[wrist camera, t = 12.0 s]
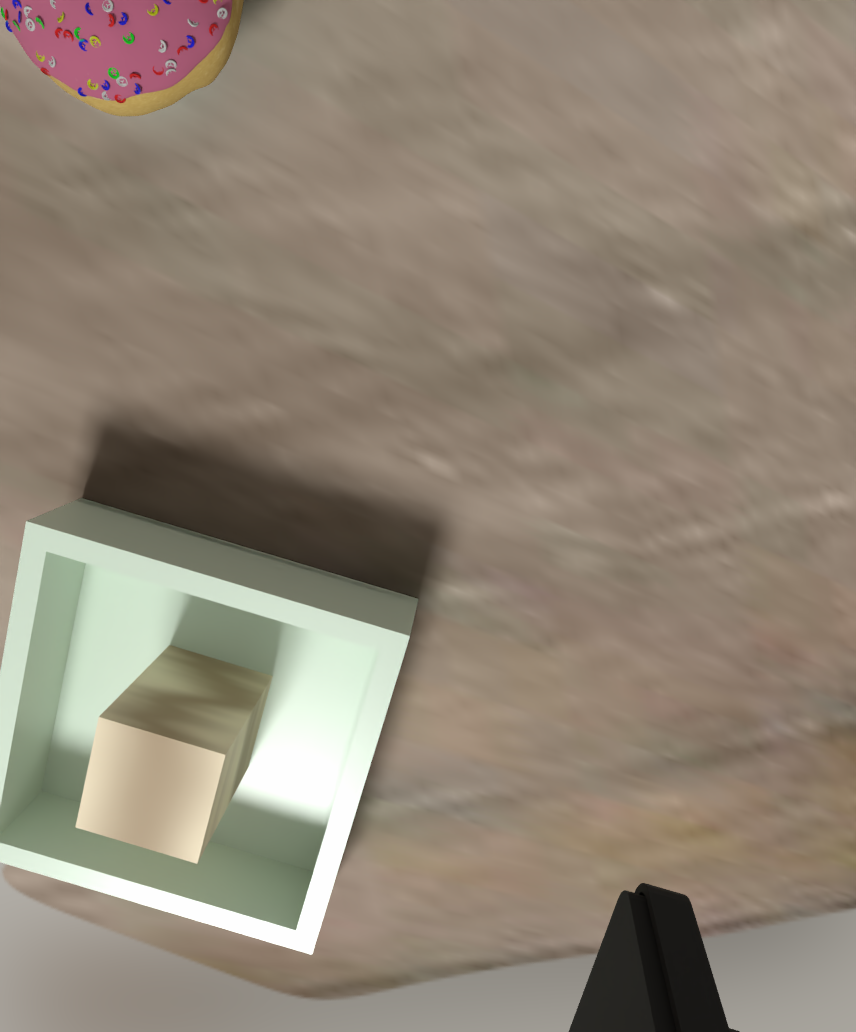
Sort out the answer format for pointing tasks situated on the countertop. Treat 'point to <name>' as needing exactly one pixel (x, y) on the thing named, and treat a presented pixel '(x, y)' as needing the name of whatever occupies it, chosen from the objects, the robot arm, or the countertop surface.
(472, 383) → the countertop surface
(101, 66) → the cupcake
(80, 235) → the countertop surface
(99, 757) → the beech block
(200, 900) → the bin
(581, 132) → the countertop surface
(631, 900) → the robot arm
